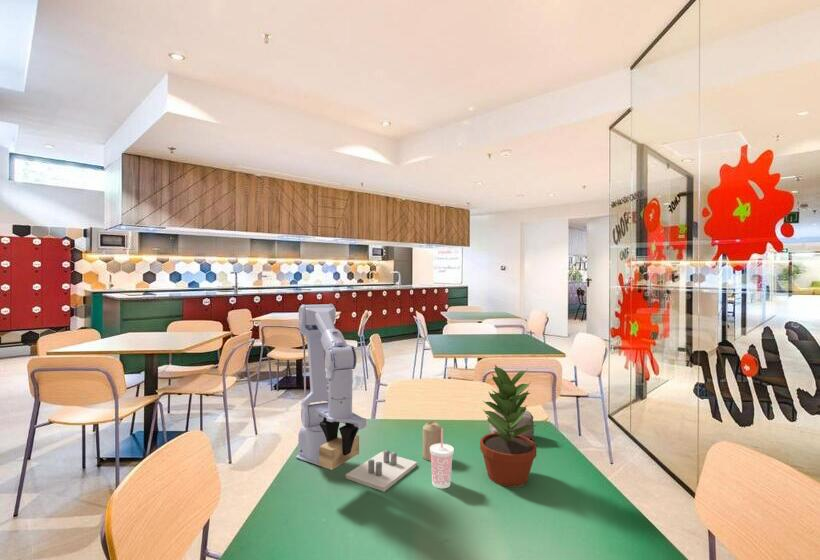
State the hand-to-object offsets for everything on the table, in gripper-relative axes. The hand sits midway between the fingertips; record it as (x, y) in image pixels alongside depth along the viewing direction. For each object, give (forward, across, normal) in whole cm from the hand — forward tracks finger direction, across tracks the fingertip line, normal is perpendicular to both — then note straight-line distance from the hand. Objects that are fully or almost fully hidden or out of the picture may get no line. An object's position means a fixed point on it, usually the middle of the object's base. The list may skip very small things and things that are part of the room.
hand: (339, 451), depth 98 cm
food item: (+10, +26, +55) cm, 62 cm away
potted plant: (+10, +33, +29) cm, 45 cm away
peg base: (+9, +4, +13) cm, 17 cm away
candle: (+10, +11, +28) cm, 32 cm away
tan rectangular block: (+2, 0, 0) cm, 2 cm away
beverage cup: (+10, +20, +16) cm, 27 cm away
